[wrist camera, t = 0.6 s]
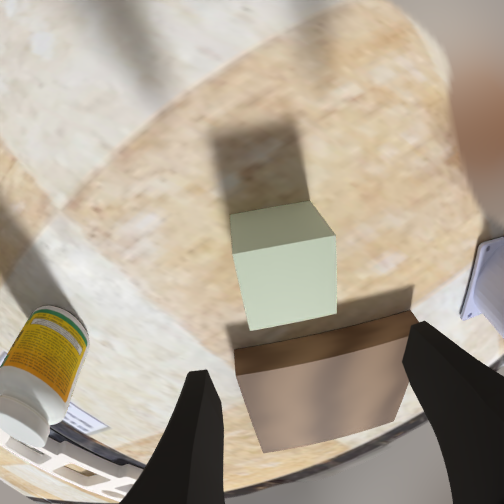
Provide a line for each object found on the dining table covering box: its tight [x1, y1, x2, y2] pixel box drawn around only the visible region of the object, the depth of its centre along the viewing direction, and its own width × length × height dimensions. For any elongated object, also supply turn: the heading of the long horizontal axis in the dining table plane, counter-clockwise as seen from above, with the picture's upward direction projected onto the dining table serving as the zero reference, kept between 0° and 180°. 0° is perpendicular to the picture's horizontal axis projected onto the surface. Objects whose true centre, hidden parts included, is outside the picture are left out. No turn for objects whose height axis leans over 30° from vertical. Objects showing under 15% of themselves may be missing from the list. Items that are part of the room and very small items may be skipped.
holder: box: [0, 428, 144, 502], centre depth 29 cm, size 45×18×3 cm, turn 43°
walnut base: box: [234, 310, 419, 453], centre depth 24 cm, size 14×14×2 cm
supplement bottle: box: [0, 306, 89, 448], centre depth 16 cm, size 5×5×10 cm
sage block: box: [230, 201, 337, 331], centre depth 16 cm, size 4×4×4 cm
